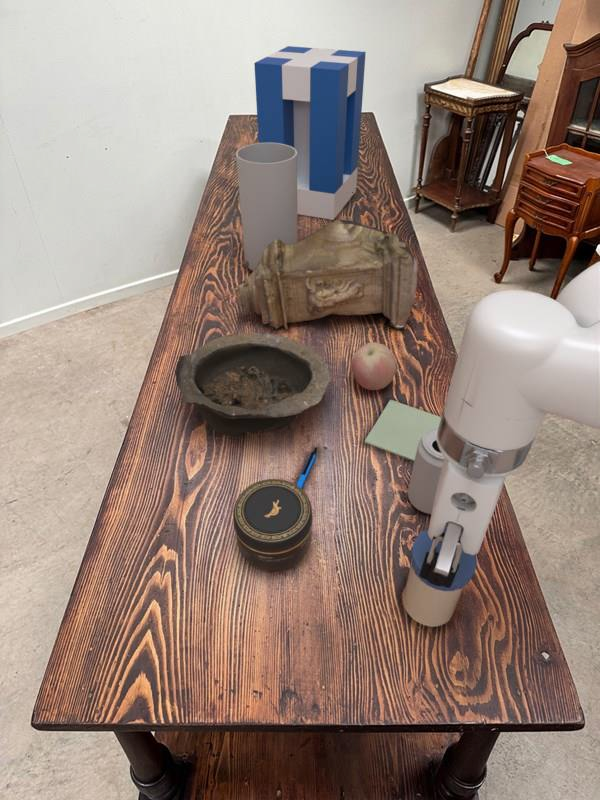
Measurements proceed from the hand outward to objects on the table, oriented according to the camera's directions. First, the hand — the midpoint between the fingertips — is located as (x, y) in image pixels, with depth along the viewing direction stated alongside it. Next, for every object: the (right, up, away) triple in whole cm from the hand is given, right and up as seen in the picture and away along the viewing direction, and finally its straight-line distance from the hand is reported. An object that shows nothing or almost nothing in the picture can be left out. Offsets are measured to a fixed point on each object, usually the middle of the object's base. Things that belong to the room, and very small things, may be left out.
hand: (444, 544), depth 57 cm
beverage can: (+3, +1, +20) cm, 20 cm away
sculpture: (-10, +34, +56) cm, 66 cm away
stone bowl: (-23, +15, +35) cm, 44 cm away
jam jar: (0, -9, +9) cm, 13 cm away
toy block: (-12, +73, +97) cm, 122 cm away
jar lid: (0, -2, +1) cm, 2 cm away
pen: (-16, +1, +20) cm, 26 cm away
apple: (-3, +18, +38) cm, 42 cm away
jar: (-19, -4, +15) cm, 24 cm away
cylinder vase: (-22, +48, +70) cm, 88 cm away
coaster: (+2, +10, +30) cm, 31 cm away
